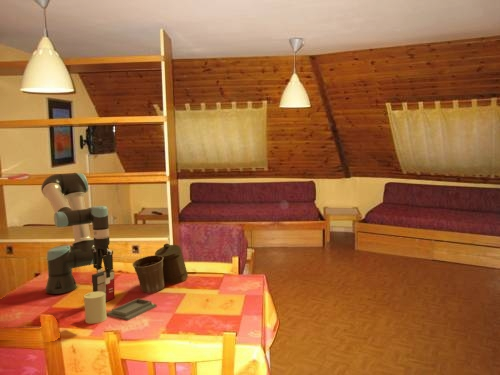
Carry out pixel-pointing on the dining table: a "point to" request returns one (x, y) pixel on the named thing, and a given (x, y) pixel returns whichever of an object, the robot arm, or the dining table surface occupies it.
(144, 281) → the plant pot
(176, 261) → the wooden container
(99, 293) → the can
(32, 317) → the dining table surface
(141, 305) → the tray
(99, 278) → the red and grey box
